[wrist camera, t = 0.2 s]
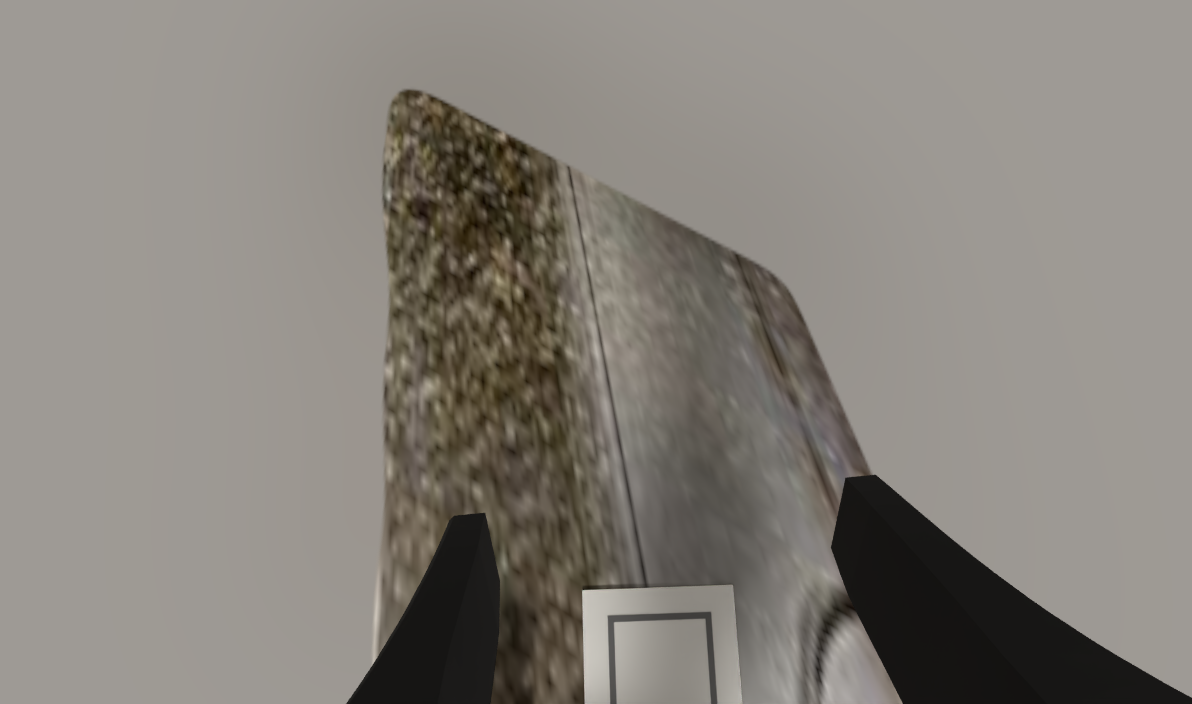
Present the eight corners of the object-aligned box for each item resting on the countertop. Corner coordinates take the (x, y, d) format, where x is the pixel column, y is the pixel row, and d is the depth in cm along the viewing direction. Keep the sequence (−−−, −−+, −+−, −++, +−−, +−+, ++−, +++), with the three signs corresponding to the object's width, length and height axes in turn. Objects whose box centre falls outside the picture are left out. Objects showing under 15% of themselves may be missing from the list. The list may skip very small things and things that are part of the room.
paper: (745, 753, 39) (746, 755, 39) (585, 762, 39) (586, 763, 38) (732, 584, 42) (733, 584, 42) (582, 590, 41) (582, 590, 41)
